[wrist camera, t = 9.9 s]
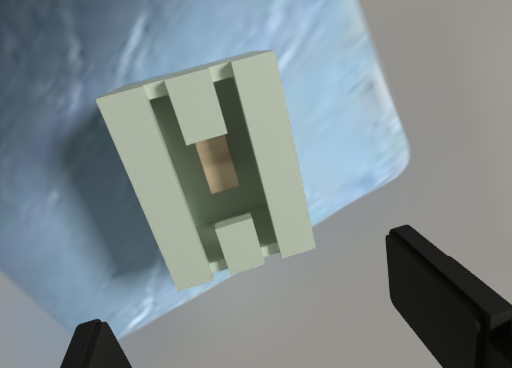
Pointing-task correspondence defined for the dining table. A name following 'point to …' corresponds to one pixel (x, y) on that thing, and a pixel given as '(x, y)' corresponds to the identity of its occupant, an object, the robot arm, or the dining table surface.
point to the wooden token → (217, 163)
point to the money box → (192, 173)
